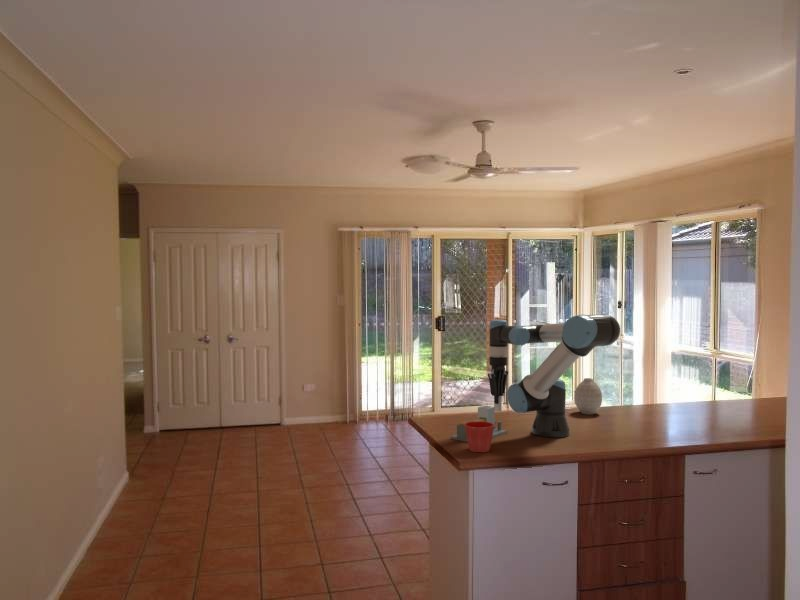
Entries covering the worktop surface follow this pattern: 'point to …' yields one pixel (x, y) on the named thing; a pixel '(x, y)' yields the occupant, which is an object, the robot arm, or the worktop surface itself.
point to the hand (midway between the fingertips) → (497, 410)
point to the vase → (588, 397)
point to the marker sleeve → (487, 413)
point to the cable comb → (461, 427)
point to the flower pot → (479, 435)
